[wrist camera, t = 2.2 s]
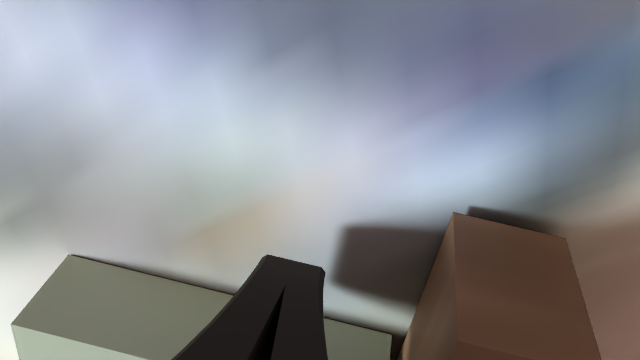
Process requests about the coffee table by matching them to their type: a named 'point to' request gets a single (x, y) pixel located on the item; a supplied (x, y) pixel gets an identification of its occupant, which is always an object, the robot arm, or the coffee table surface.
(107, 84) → the coffee table surface
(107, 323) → the stool seat
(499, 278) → the folding leg
